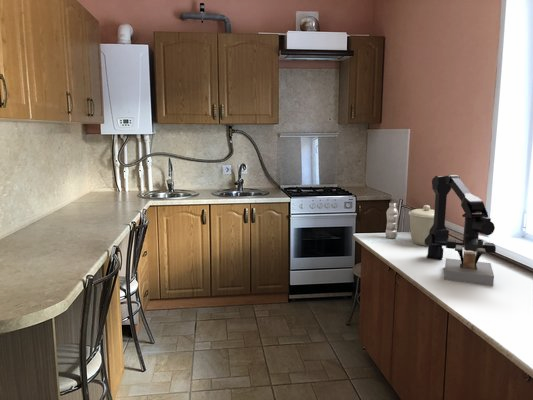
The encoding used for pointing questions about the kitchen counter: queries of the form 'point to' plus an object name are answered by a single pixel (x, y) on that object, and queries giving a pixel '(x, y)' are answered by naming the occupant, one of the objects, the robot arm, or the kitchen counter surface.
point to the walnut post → (469, 260)
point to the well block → (469, 272)
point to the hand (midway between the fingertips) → (468, 265)
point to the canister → (421, 224)
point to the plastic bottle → (391, 221)
